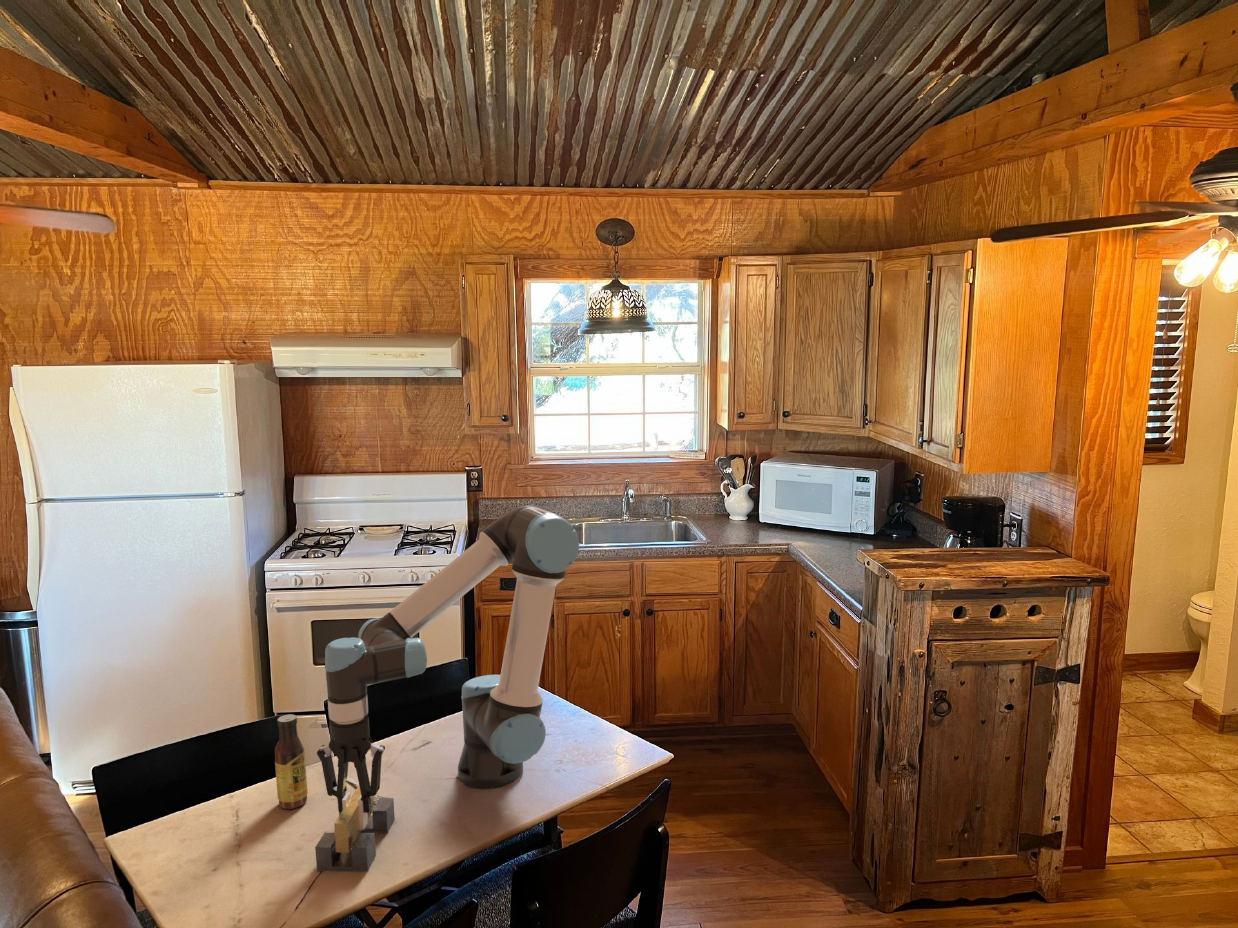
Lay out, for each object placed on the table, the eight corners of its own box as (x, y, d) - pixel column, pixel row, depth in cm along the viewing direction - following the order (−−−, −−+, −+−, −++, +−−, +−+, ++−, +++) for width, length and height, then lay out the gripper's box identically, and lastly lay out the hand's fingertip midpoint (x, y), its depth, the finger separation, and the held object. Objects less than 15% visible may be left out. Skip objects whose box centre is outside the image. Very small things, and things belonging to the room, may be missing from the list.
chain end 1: (394, 819, 189) (393, 797, 188) (387, 832, 184) (386, 810, 183) (348, 819, 189) (346, 797, 189) (340, 832, 184) (338, 810, 184)
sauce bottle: (299, 811, 193) (292, 726, 190) (273, 809, 194) (264, 724, 190) (314, 795, 199) (306, 712, 196) (288, 793, 200) (280, 711, 197)
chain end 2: (376, 855, 176) (374, 832, 175) (368, 871, 171) (366, 847, 170) (326, 855, 177) (324, 832, 176) (317, 870, 172) (315, 847, 171)
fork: (337, 766, 213) (336, 759, 213) (389, 803, 196) (388, 796, 196) (324, 771, 211) (324, 764, 211) (376, 809, 194) (375, 801, 194)
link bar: (374, 807, 188) (372, 781, 187) (348, 852, 172) (346, 823, 171) (362, 807, 188) (361, 781, 187) (336, 852, 172) (334, 823, 171)
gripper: (393, 708, 179) (399, 816, 183) (317, 708, 180) (324, 815, 184) (382, 724, 172) (388, 836, 176) (302, 724, 173) (311, 836, 176)
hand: (356, 825), depth 180 cm, fingers closed on link bar, 2 cm apart
